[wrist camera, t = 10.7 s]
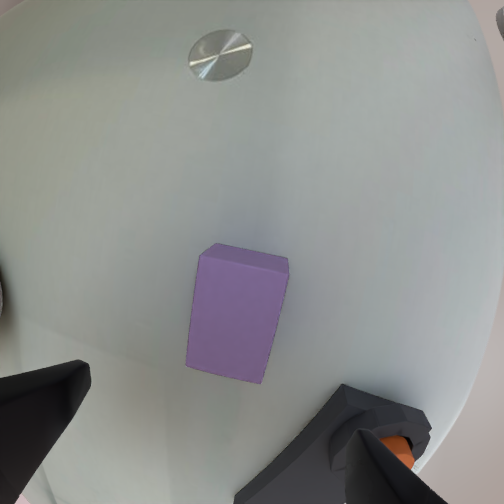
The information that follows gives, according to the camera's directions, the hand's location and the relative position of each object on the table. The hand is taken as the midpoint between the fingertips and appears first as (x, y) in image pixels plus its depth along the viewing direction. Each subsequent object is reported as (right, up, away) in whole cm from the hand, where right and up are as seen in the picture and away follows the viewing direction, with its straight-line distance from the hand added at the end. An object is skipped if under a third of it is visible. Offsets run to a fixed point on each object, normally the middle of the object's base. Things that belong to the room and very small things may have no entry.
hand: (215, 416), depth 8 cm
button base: (+7, -13, +11) cm, 18 cm away
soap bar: (+1, +2, +8) cm, 9 cm away
